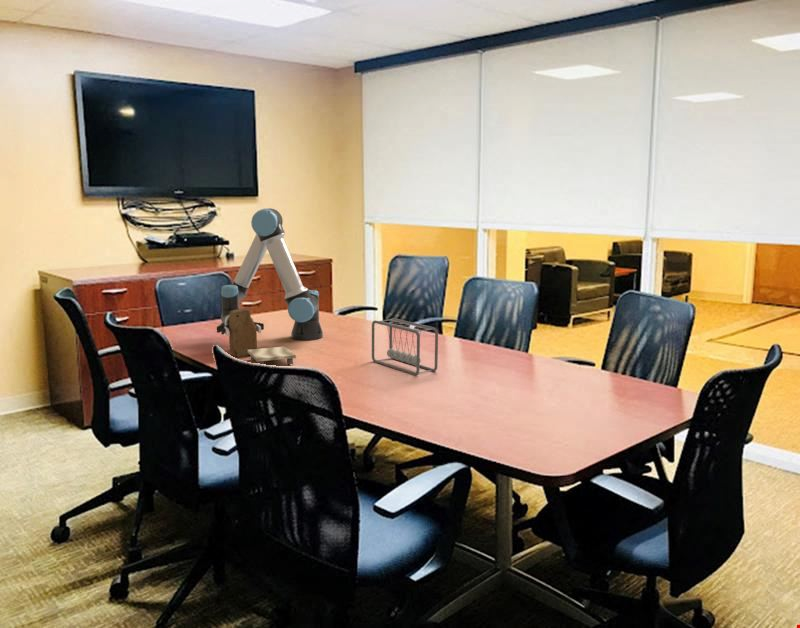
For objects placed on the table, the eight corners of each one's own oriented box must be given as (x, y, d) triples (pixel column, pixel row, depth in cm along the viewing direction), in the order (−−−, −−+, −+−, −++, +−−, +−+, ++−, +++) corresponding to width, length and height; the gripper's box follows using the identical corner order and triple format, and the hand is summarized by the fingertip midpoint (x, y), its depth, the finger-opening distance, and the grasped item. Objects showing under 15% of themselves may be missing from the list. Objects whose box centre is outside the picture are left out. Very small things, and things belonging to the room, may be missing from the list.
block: (234, 358, 289) (232, 311, 286) (228, 354, 295) (227, 309, 292) (258, 355, 295) (257, 309, 291) (252, 352, 301) (251, 307, 297)
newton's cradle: (371, 361, 286) (371, 319, 283) (390, 358, 293) (391, 317, 290) (417, 376, 263) (418, 331, 260) (437, 372, 270) (438, 328, 267)
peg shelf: (285, 356, 294) (285, 346, 293) (296, 365, 279) (295, 355, 278) (247, 359, 287) (247, 349, 287) (256, 368, 272) (256, 358, 271)
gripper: (262, 328, 315) (273, 337, 296) (206, 332, 305) (214, 342, 286) (261, 312, 314) (273, 320, 295) (205, 316, 304) (213, 324, 284)
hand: (244, 331), depth 290 cm, fingers open, 13 cm apart
